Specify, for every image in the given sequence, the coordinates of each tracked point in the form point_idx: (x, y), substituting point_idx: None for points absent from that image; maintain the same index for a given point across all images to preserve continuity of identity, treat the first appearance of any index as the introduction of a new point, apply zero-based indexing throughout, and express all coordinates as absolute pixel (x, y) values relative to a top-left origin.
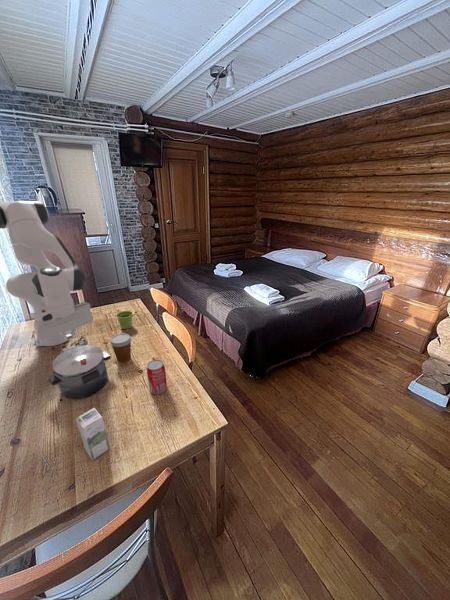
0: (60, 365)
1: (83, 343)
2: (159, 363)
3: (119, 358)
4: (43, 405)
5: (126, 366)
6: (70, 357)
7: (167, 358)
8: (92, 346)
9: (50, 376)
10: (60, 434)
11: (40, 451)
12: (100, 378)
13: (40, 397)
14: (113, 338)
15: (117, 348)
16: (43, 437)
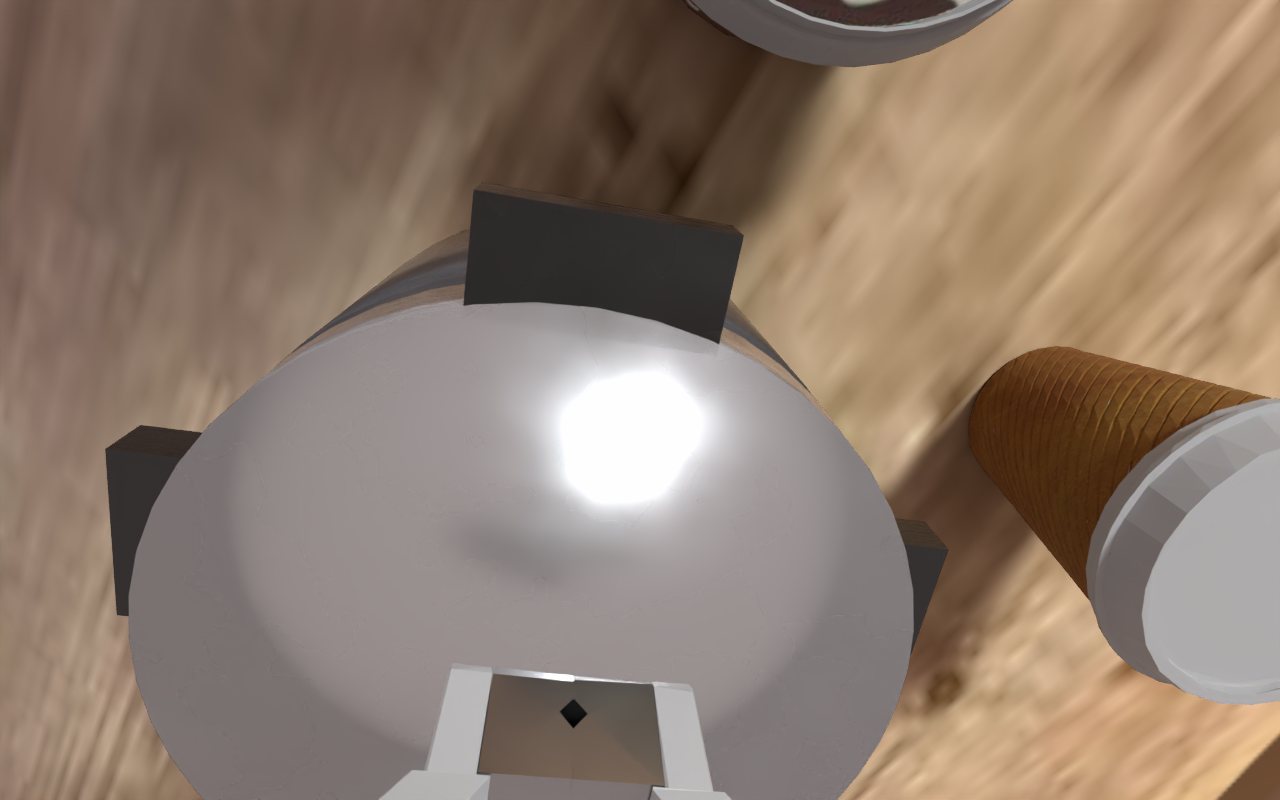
0: (240, 642)
1: (973, 9)
2: None
3: (997, 475)
4: (140, 393)
5: (946, 539)
6: (457, 570)
7: (1192, 732)
8: (878, 569)
9: (143, 487)
10: (155, 772)
11: (6, 795)
12: None
13: (148, 249)
14: (1260, 478)
15: (1081, 585)
16: (50, 713)
